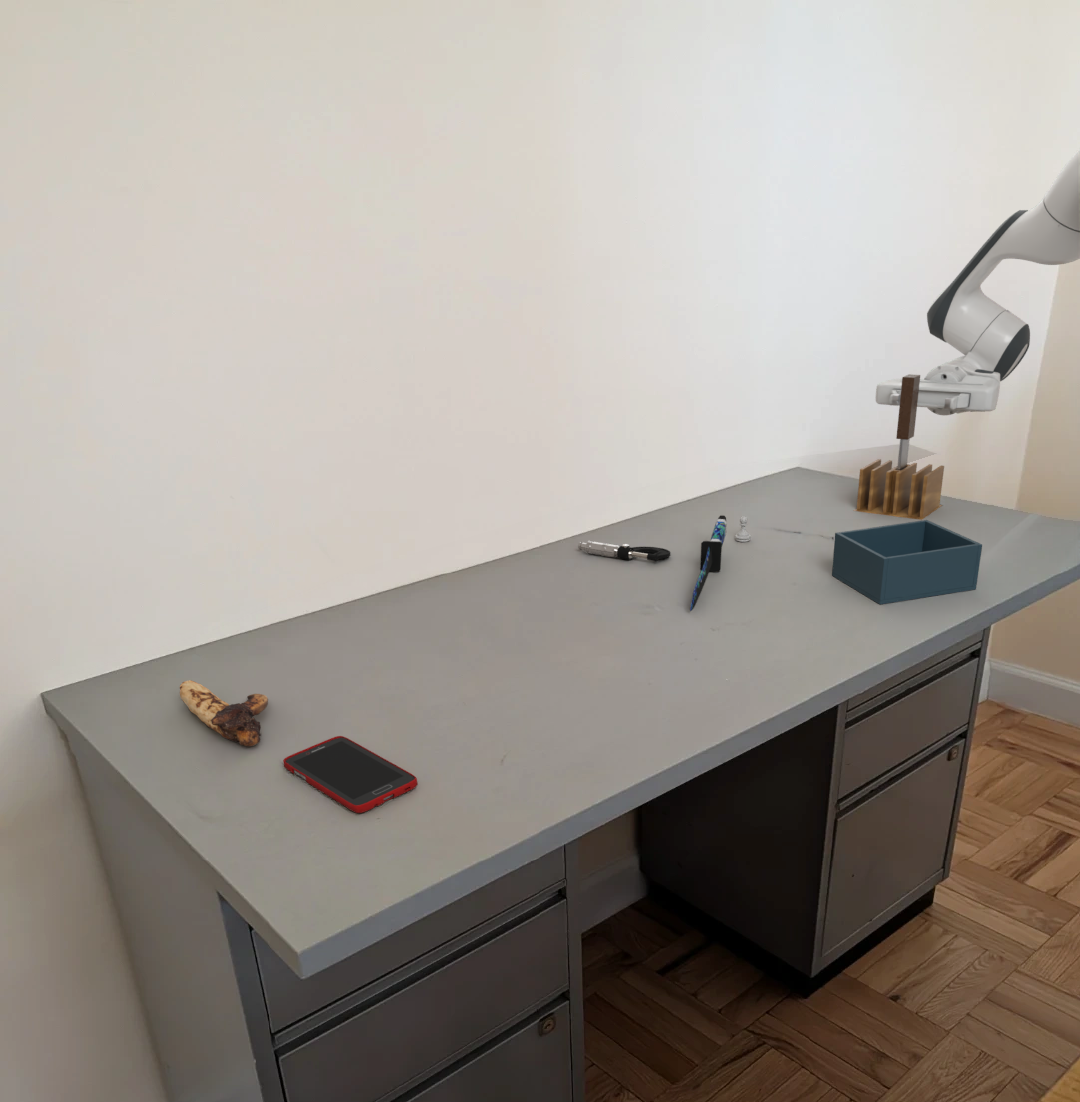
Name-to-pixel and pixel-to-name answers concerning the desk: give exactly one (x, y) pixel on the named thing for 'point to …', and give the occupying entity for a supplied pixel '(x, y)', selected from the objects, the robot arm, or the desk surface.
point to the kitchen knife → (907, 416)
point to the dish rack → (899, 490)
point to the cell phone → (350, 773)
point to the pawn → (743, 531)
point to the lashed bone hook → (225, 713)
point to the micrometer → (623, 551)
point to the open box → (906, 561)
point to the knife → (710, 557)
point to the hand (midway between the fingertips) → (920, 402)
